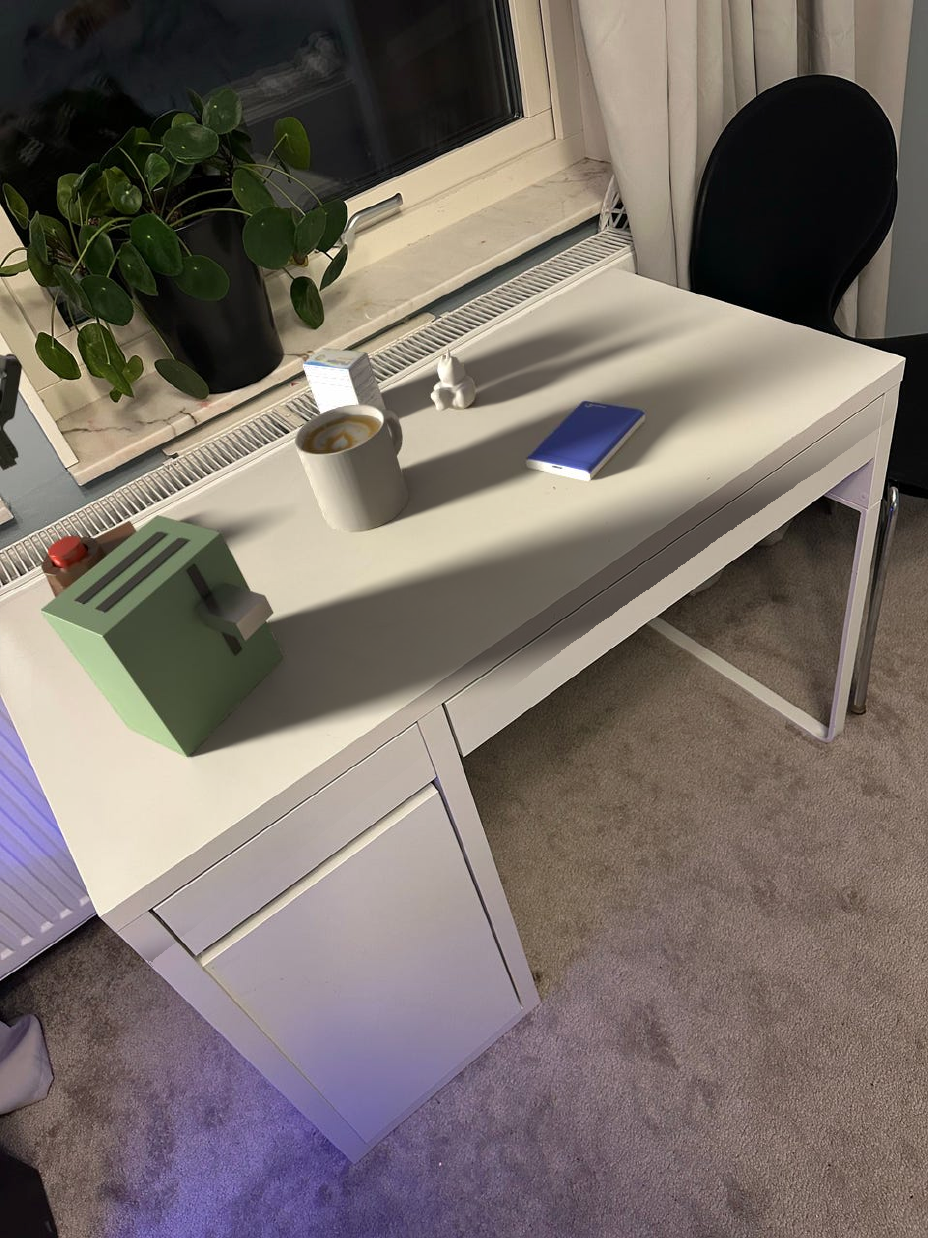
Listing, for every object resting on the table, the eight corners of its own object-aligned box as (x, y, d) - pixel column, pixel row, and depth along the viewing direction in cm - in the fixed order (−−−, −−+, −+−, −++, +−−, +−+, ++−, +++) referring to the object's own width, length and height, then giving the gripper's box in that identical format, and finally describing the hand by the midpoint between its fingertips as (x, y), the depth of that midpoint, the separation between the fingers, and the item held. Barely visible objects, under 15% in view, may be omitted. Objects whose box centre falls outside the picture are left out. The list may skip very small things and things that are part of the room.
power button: (59, 572, 92) (51, 560, 91) (53, 558, 95) (44, 546, 94) (90, 557, 93) (82, 544, 92) (83, 543, 96) (75, 531, 95)
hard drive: (581, 399, 100) (525, 456, 93) (644, 409, 95) (589, 469, 89) (583, 411, 101) (527, 468, 95) (645, 421, 96) (590, 482, 90)
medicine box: (387, 412, 111) (369, 351, 105) (367, 430, 109) (347, 368, 103) (342, 405, 115) (322, 346, 109) (322, 422, 113) (300, 363, 107)
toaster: (189, 758, 73) (103, 636, 63) (128, 728, 77) (38, 609, 67) (286, 656, 80) (222, 532, 70) (224, 634, 84) (156, 514, 74)
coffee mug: (361, 542, 91) (332, 464, 84) (307, 516, 97) (276, 441, 90) (447, 477, 97) (426, 399, 90) (390, 456, 103) (367, 382, 96)
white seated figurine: (489, 400, 108) (476, 341, 102) (454, 426, 105) (439, 367, 99) (458, 392, 111) (445, 334, 106) (424, 417, 108) (408, 359, 103)
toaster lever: (245, 641, 68) (236, 623, 66) (204, 626, 70) (194, 608, 69) (274, 612, 70) (265, 595, 68) (232, 599, 72) (223, 581, 71)
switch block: (67, 616, 92) (47, 589, 90) (51, 579, 99) (32, 552, 96) (159, 567, 96) (143, 540, 93) (138, 534, 102) (122, 508, 99)
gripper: (-35, 263, 79) (63, 424, 90) (-181, 320, 75) (-60, 480, 87) (-24, 280, 74) (78, 448, 85) (-180, 342, 70) (-51, 509, 81)
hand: (8, 464), depth 86 cm, fingers closed
